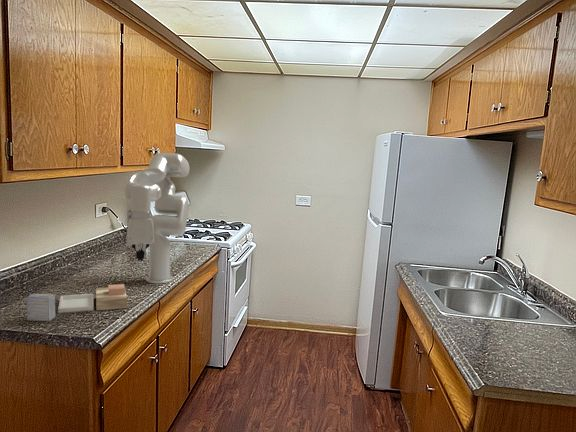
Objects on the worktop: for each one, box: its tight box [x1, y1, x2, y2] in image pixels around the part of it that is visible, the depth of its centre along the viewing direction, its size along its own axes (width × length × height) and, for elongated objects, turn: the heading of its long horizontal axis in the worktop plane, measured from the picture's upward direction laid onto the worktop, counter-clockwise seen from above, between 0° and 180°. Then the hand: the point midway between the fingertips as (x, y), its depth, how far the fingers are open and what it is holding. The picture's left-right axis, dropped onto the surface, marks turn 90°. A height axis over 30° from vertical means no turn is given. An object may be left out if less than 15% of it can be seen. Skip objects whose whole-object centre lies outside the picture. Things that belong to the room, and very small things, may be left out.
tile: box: [107, 283, 126, 295], centre depth 178 cm, size 6×6×2 cm
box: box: [57, 293, 95, 315], centre depth 173 cm, size 16×12×2 cm
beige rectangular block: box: [95, 287, 128, 311], centre depth 177 cm, size 16×11×4 cm
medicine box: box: [26, 293, 56, 322], centre depth 157 cm, size 8×4×9 cm, turn 92°
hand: (140, 260), depth 180 cm, fingers closed
